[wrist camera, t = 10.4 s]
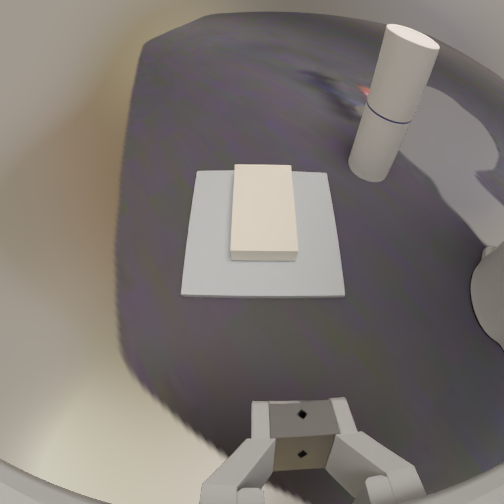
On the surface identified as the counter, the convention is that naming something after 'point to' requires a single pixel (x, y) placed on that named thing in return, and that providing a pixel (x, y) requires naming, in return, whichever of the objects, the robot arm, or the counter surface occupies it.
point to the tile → (263, 214)
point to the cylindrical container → (392, 100)
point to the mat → (261, 272)
